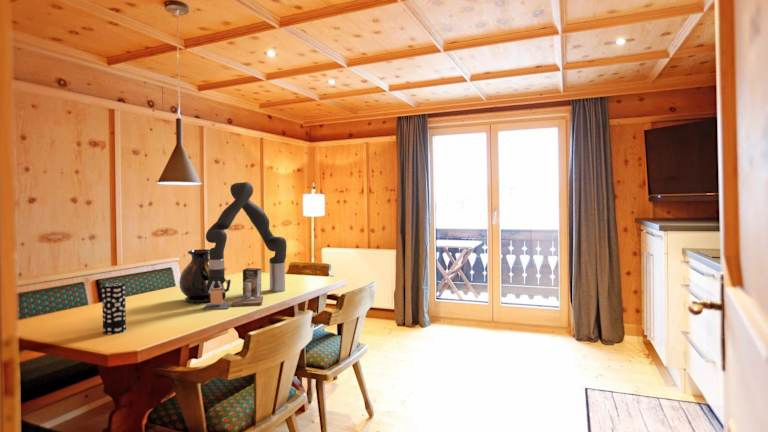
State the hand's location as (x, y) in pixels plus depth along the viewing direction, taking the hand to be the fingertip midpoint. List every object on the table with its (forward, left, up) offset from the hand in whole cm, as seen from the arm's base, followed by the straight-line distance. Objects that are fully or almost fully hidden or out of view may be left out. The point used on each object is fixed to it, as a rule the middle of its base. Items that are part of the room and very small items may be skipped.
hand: (217, 299), depth 229 cm
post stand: (-6, +15, -4) cm, 17 cm away
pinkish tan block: (0, 0, -1) cm, 1 cm away
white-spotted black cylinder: (+36, -36, -4) cm, 51 cm away
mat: (0, 0, -4) cm, 4 cm away
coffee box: (-22, +16, -4) cm, 27 cm away
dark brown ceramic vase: (-17, -11, -4) cm, 21 cm away
